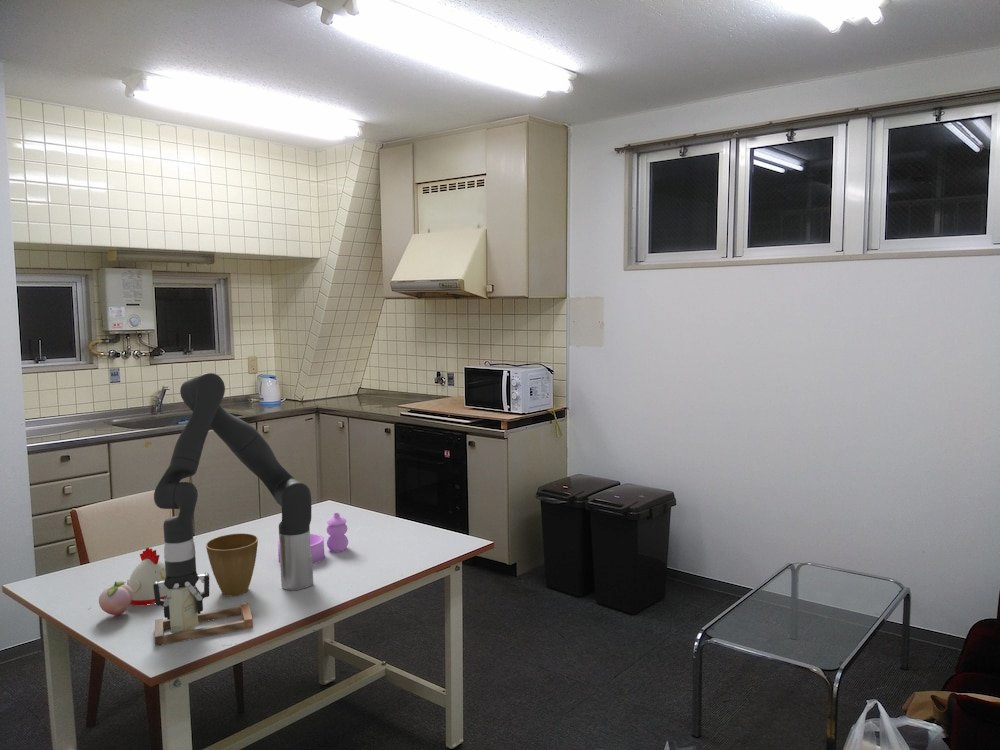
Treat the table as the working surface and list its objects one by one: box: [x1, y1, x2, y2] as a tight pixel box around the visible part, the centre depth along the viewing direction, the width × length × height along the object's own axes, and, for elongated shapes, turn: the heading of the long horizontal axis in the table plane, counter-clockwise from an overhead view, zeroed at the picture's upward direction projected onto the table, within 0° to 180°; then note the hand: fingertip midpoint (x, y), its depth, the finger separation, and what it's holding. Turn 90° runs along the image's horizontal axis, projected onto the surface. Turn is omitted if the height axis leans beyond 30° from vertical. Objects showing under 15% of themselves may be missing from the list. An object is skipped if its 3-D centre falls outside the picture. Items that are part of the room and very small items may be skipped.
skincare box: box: [168, 583, 199, 634], centre depth 196 cm, size 6×4×12 cm
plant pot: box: [205, 532, 259, 597], centre depth 223 cm, size 15×15×16 cm
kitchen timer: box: [126, 547, 168, 606], centre depth 220 cm, size 14×14×15 cm
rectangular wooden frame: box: [154, 603, 254, 647], centre depth 198 cm, size 24×11×2 cm, turn 115°
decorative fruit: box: [98, 580, 133, 617], centre depth 207 cm, size 9×8×10 cm
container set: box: [277, 512, 349, 565], centre depth 255 cm, size 25×15×13 cm, turn 129°
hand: (183, 615), depth 196 cm, fingers closed on skincare box, 7 cm apart
